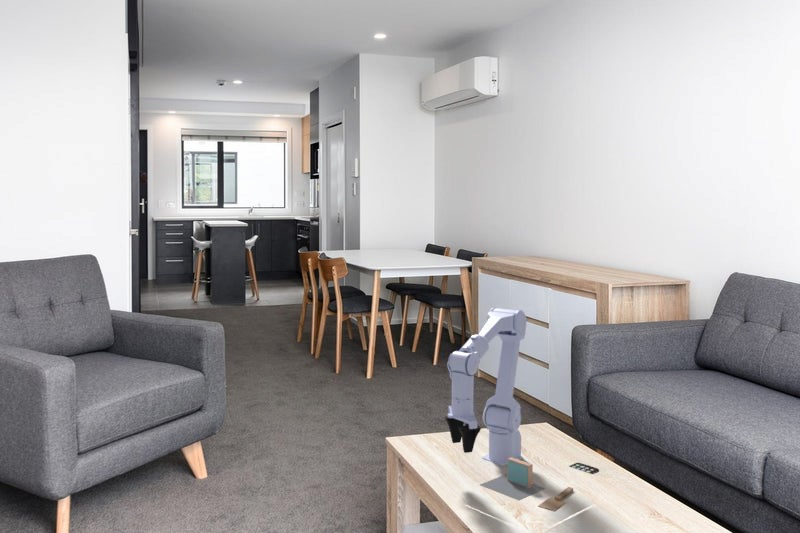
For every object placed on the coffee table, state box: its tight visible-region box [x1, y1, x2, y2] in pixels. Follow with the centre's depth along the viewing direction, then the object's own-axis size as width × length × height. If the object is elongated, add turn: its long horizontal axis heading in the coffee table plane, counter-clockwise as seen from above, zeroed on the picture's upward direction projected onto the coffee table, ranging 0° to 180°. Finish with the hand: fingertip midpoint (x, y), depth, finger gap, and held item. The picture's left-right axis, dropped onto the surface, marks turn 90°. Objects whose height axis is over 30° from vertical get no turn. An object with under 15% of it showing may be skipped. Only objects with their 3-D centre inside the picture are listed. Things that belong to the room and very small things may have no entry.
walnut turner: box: [537, 486, 574, 512], centre depth 179 cm, size 14×4×1 cm, turn 142°
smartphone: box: [568, 462, 600, 475], centre depth 197 cm, size 7×1×15 cm
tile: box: [506, 457, 534, 488], centre depth 188 cm, size 2×7×6 cm, turn 42°
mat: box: [479, 473, 546, 501], centre depth 187 cm, size 11×13×1 cm
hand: (462, 447), depth 188 cm, fingers open, 7 cm apart
